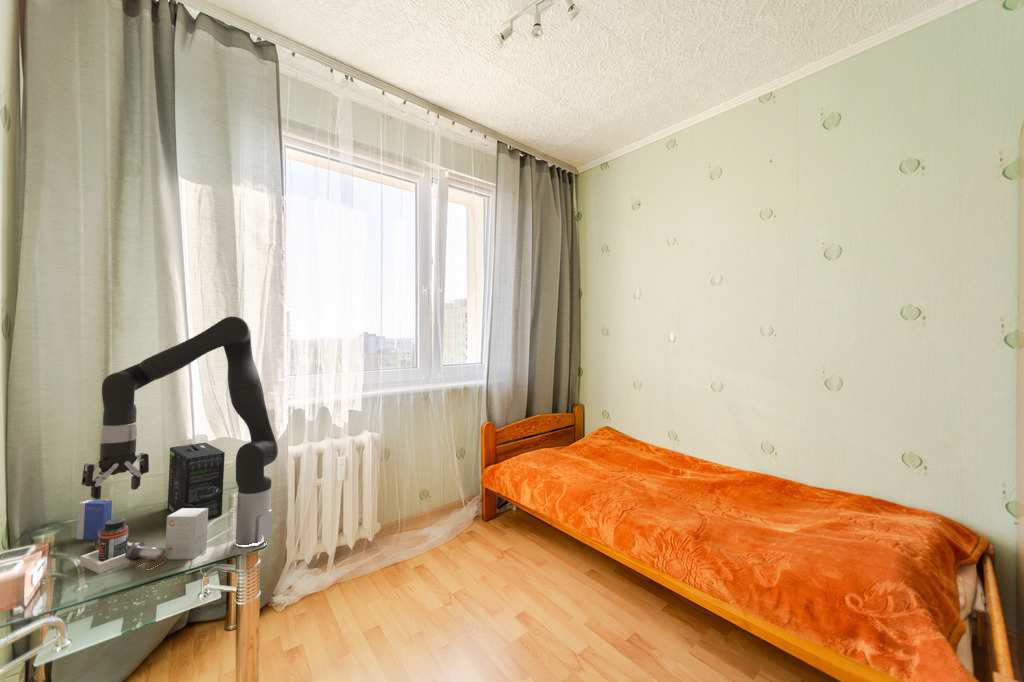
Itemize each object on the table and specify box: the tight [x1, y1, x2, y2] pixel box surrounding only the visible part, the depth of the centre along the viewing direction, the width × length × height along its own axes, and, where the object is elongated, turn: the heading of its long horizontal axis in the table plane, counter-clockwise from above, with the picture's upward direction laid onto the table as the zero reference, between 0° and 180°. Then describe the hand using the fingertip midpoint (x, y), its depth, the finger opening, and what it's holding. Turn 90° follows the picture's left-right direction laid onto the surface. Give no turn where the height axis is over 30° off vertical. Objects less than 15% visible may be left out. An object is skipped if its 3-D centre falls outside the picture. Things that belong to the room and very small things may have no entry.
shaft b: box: [92, 527, 105, 551], centre depth 123 cm, size 9×5×6 cm, turn 53°
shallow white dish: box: [79, 541, 133, 574], centre depth 116 cm, size 10×10×2 cm
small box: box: [164, 508, 209, 560], centre depth 121 cm, size 8×6×13 cm
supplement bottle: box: [99, 517, 129, 562], centre depth 116 cm, size 6×6×11 cm
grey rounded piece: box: [125, 541, 167, 570], centre depth 115 cm, size 9×5×6 cm, turn 83°
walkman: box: [76, 498, 113, 540], centre depth 128 cm, size 8×3×12 cm, turn 94°
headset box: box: [167, 442, 226, 520], centre depth 150 cm, size 22×12×26 cm, turn 53°
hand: (116, 493), depth 116 cm, fingers open, 8 cm apart
